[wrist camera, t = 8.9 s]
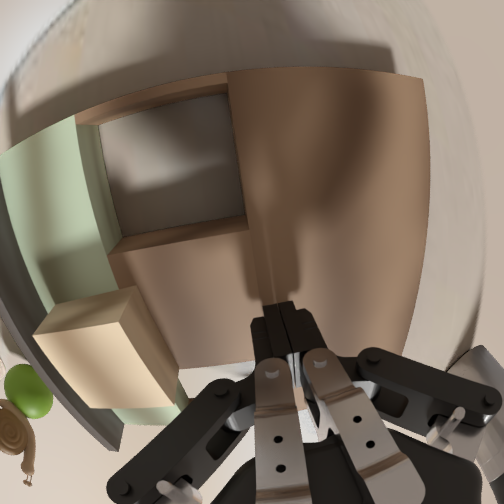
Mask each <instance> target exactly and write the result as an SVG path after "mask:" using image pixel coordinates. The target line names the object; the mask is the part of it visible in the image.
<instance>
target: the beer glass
mask: <svg viewBox="0 0 504 504" xmlns="http://www.w3.org/2000/svg"><path fill="white" fill-rule="evenodd" d="M5 374H6V369H5V366H4V364H3V362H2V361H1V359H0V381H1V379H2V378H3V377H4V376H5Z"/></svg>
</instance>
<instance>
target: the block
mask: <svg viewBox="0 0 504 504" xmlns="http://www.w3.org/2000/svg"><path fill="white" fill-rule="evenodd" d="M32 336H33V337H34V339H35V340H36V342H37V343H38V345H39V346H40V348H41V349H42V351H43V352H44V353H45V355H46V356H47V357H48V359H49V360H50V361H51V363H52V364H53V365H54V367H55V368H56V369H57V370H58V372H59V373H60V374H61V375H62V377H63V378H64V379H65V380H66V382H67V383H68V384H69V385H70V386H71V387H72V389H73V390H74V391H75V392H76V393H77V394H78V395H79V396H80V398H81V399H82V400H83V401H84V402H85V403H86V404H87V405H88V406H89V407H90V408H107V409H125V408H153V407H167V406H175V397H176V388H177V380H178V372H179V366H178V364H177V363H176V361H175V359H174V357H173V356H172V354H171V352H170V350H169V349H168V347H167V345H166V343H165V341H164V339H163V338H162V336H161V334H160V332H159V330H158V328H157V326H156V324H155V322H154V321H153V319H152V317H151V315H150V313H149V311H148V309H147V307H146V305H145V302H144V300H143V298H142V296H141V294H140V292H139V290H138V288H137V285H136V286H131V287H127V288H123V289H119V290H115V291H111V292H106V293H102V294H98V295H94V296H90V297H85V298H81V299H77V300H73V301H68V302H64V303H60V304H56V305H55V306H54V307H53V308H52V310H51V311H50V312H49V313H48V315H47V316H46V317H45V319H44V320H43V321H42V323H41V324H40V325H39V327H38V328H37V330H36V331H35V332H34V334H33V335H32Z"/></svg>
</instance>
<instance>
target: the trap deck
mask: <svg viewBox="0 0 504 504" xmlns="http://www.w3.org/2000/svg"><path fill="white" fill-rule="evenodd" d="M223 93H227V97H228V104H229V110H230V117H231V124H232V130H233V137H234V144H235V150H236V157H237V164H238V171H239V177H240V184H241V191H242V197H243V204H244V211H245V215H241V216H235V217H229V218H223V219H217V220H211V221H206V222H200V223H194V224H189V225H184V226H178V227H173V228H168V229H162V230H157V231H152V232H147V233H142V234H137V235H133V236H128V237H122V233H121V230H120V227H119V223H118V219H117V216H116V212H115V208H114V204H113V200H112V196H111V192H110V187H109V183H108V179H107V174H106V169H105V164H104V159H103V154H102V148H101V142H100V136H99V130H98V125H100V124H103V123H106V122H109V121H112V120H115V119H118V118H121V117H124V116H127V115H130V114H133V113H137V112H140V111H144V110H147V109H151V108H155V107H159V106H163V105H167V104H171V103H175V102H180V101H184V100H189V99H194V98H199V97H205V96H210V95H216V94H223ZM429 200H430V141H429V126H428V114H427V105H426V97H425V90H424V83H423V79H421V78H416V77H411V76H406V75H400V74H394V73H388V72H381V71H373V70H364V69H353V68H339V67H274V68H259V69H248V70H239V71H231V72H223V73H217V74H210V75H204V76H199V77H194V78H189V79H184V80H179V81H175V82H171V83H166V84H162V85H158V86H155V87H151V88H147V89H144V90H140V91H137V92H134V93H131V94H127V95H124V96H121V97H118V98H115V99H113V100H110V101H107V102H104V103H102V104H99V105H96V106H94V107H91V108H89V109H86V110H84V111H82V112H79V113H77V114H75V115H72V116H70V117H68V118H66V119H64V120H61V121H59V122H57V123H55V124H53V125H51V126H49V127H47V128H45V129H43V130H41V131H40V132H38V133H36V134H34V135H32V136H30V137H29V138H27V139H25V140H23V141H22V142H20V143H18V144H17V145H15V146H13V147H12V148H10V149H9V150H7V151H6V152H4V153H2V154H1V155H0V316H1V318H2V320H3V321H4V323H5V325H6V327H7V329H8V330H9V332H10V334H11V335H12V337H13V339H14V340H15V342H16V344H17V345H18V347H19V348H20V350H21V351H22V353H23V354H24V356H25V357H26V359H27V360H28V362H29V363H30V365H31V366H32V367H33V369H34V370H35V371H36V373H37V374H38V376H39V377H40V378H41V379H42V381H43V382H44V383H45V385H46V386H47V387H48V388H49V390H50V391H51V392H52V393H53V394H54V396H55V397H56V398H57V399H58V400H59V401H60V403H61V404H62V405H63V406H64V407H65V408H66V409H67V410H68V412H69V413H70V414H71V415H72V416H73V417H74V418H75V419H76V420H77V421H78V422H79V423H80V424H81V425H82V426H83V427H84V428H85V429H86V430H87V431H88V432H89V433H90V434H91V435H92V436H93V437H94V438H95V439H97V440H98V441H99V442H100V443H101V444H102V445H103V446H104V447H106V448H107V449H108V450H109V451H117V452H119V448H120V443H121V438H122V433H123V428H124V424H132V425H168V424H169V423H171V422H172V421H173V420H174V419H175V418H176V417H177V416H178V415H179V414H180V413H181V412H182V411H183V410H184V409H185V408H186V407H187V406H188V405H189V404H190V403H191V402H192V401H193V399H194V398H188V396H187V395H186V392H185V390H184V388H183V387H182V385H181V383H180V381H179V379H178V380H177V388H176V397H175V406H167V407H153V408H125V409H107V408H90V407H89V406H88V405H87V404H86V403H85V402H84V401H83V400H82V399H81V398H80V396H79V395H78V394H77V393H76V392H75V391H74V390H73V389H72V387H71V386H70V385H69V384H68V383H67V382H66V380H65V379H64V378H63V377H62V375H61V374H60V373H59V372H58V370H57V369H56V368H55V367H54V365H53V364H52V363H51V361H50V360H49V359H48V357H47V356H46V355H45V353H44V352H43V351H42V349H41V348H40V346H39V345H38V343H37V342H36V340H35V339H34V337H33V336H32V335H33V334H34V332H35V331H36V330H37V328H38V327H39V325H40V324H41V323H42V321H43V320H44V319H45V317H46V316H47V315H48V313H49V312H50V311H51V310H52V308H53V307H54V306H55V305H56V304H60V303H64V302H68V301H73V300H77V299H81V298H85V297H90V296H94V295H98V294H102V293H106V292H111V291H115V290H119V289H123V288H127V287H131V286H136V285H137V288H138V290H139V292H140V294H141V296H142V298H143V300H144V302H145V305H146V307H147V309H148V311H149V313H150V315H151V317H152V319H153V321H154V322H155V324H156V326H157V328H158V330H159V332H160V334H161V336H162V338H163V339H164V341H165V343H166V345H167V347H168V349H169V350H170V352H171V354H172V356H173V357H174V359H175V361H176V363H177V364H178V366H179V369H188V368H199V367H208V366H217V365H225V364H232V363H239V362H246V361H252V360H255V356H254V349H253V343H252V336H251V329H250V324H251V322H252V320H253V318H256V317H262V316H264V315H263V309H262V306H265V305H270V304H276V303H277V305H278V303H281V302H286V301H291V300H293V302H294V305H295V307H296V310H298V309H302V308H305V309H307V310H308V311H309V312H311V313H312V315H313V317H314V319H315V322H316V323H317V326H318V328H319V330H320V332H321V334H322V336H323V339H324V341H325V343H326V345H327V347H328V349H329V350H331V351H333V352H334V353H335V355H337V356H341V357H357V356H358V354H359V353H360V352H361V351H362V350H364V349H366V348H369V347H378V348H381V349H384V350H387V351H389V352H392V353H394V354H397V355H400V356H402V352H403V349H404V346H405V342H406V339H407V335H408V332H409V328H410V324H411V320H412V316H413V312H414V308H415V303H416V299H417V294H418V289H419V284H420V278H421V273H422V267H423V260H424V253H425V246H426V237H427V228H428V216H429ZM294 383H295V381H294ZM293 391H294V397H295V403H296V406H297V410H298V411H300V410H304V409H307V407H306V404H305V402H304V392H303V389H302V387H298V388H296V385H295V388H294V389H293Z"/></svg>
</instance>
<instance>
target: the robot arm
mask: <svg viewBox="0 0 504 504" xmlns="http://www.w3.org/2000/svg"><path fill="white" fill-rule="evenodd" d="M262 309H263V315H264V316H262V317H256V318H253V320H252V322H251V324H250V329H251V336H252V343H253V349H254V356H255V364H256V365H255V369H254V371H253V372H252V373H251V374H250V375H249V376H248V377H247V378H245V379H243V380H240V381H238V382H234V381H233V380H230V379H225V378H224V379H217V380H214V381H212V382H211V383H209V384H208V385H207V386H206V387H205V388H204V389H203V390H202V391H201V392H200V393H199V395H197V397H195V398H194V399H193V401H192V402H191V403H190V404H189V405H188V406H187V407H186V408H185V409H184V410H183V411H182V412H181V413H180V414H179V415H178V416H177V417H176V418H175V419H174V420H173V421H172V422H171V423H169V424H168V425H167V427H165V428H164V429H163V430H162V431H161V432H160V433H159V434H158V435H157V436H156V437H155V438H154V439H153V440H152V441H151V442H150V443H149V444H148V445H146V446H145V447H144V448H143V449H142V450H141V451H140V452H139V453H138V454H137V455H136V456H134V457H133V458H132V459H131V460H130V461H129V462H128V463H127V464H126V465H124V466H123V467H122V468H121V469H120V470H119V471H118V472H116V473H115V474H114V475H113V476H112V477H111V478H110V479H109V481H108V482H107V486H106V489H107V494H108V496H109V498H110V499H111V500H112V501H113V502H114V503H116V504H202V496H201V494H200V492H199V491H198V489H199V488H200V487H201V486H202V485H203V484H204V483H205V482H206V481H207V480H208V478H209V477H210V476H211V475H212V474H213V473H214V472H215V471H216V469H217V468H218V467H219V466H220V465H221V464H222V463H223V461H224V460H225V459H226V458H227V457H228V455H229V454H230V453H231V452H232V451H233V449H234V448H235V447H236V446H237V444H238V443H239V442H240V441H241V440H242V438H243V437H244V436H245V434H246V433H247V432H248V430H249V428H250V427H251V426H253V425H254V429H255V457H254V458H252V459H251V460H249V461H247V462H246V463H245V464H243V465H242V466H241V467H240V468H239V469H238V470H237V471H236V472H235V474H234V475H233V476H232V478H231V479H230V480H229V482H228V483H227V484H226V485H225V487H224V488H223V489H222V490H221V492H220V493H219V494H218V495H217V496H216V498H215V499H214V500H213V501H212V502H211V504H481V492H482V476H481V472H480V470H479V469H478V467H477V466H476V465H475V464H474V460H475V458H476V460H477V461H478V463H479V465H480V467H481V469H482V471H483V472H484V474H485V476H486V478H487V480H488V482H489V484H490V486H491V488H492V490H493V492H494V495H495V498H496V500H497V503H498V504H504V369H503V368H502V366H501V365H500V364H499V363H498V362H497V360H496V359H495V358H494V357H493V356H492V355H491V354H490V353H489V351H487V349H486V348H485V347H484V346H483V345H479V346H476V347H474V348H473V349H471V350H470V351H468V352H467V353H466V354H464V355H463V356H462V357H461V358H460V359H459V360H458V361H457V362H456V363H455V364H454V365H453V366H452V367H451V368H450V369H449V370H448V372H444V371H442V370H439V369H436V368H433V367H430V366H427V365H424V364H422V363H419V362H416V361H413V360H411V359H408V358H405V357H402V356H400V355H397V354H394V353H392V352H389V351H387V350H384V349H381V348H378V347H369V348H366V349H364V350H362V351H361V352H360V353H359V354H358V356H357V357H341V356H337V355H335V353H334V352H333V351H331V350H329V349H328V347H327V345H326V343H325V341H324V339H323V336H322V334H321V332H320V330H319V328H318V326H317V323H316V322H315V319H314V317H313V315H312V313H311V312H309V311H308V310H307V309H305V308H302V309H298V310H296V307H295V305H294V302H293V300H291V301H286V302H281V303H278V305H277V303H276V304H270V305H265V306H262ZM294 381H295V383H294ZM295 385H296V388H298V387H302V389H303V392H304V402H305V404H306V407H307V409H308V412H309V414H310V417H311V419H312V422H313V424H314V427H315V429H316V432H317V435H318V441H319V442H316V443H303V442H302V435H301V429H300V423H299V416H298V410H297V406H296V403H295V397H294V391H293V389H294V388H295ZM382 419H383V420H386V421H388V422H391V423H393V424H395V425H397V426H400V427H402V428H404V429H407V430H409V431H412V432H414V433H417V434H420V435H422V436H424V437H426V440H427V443H428V444H426V443H423V442H421V441H419V440H416V439H414V438H412V437H409V436H407V435H405V434H403V433H400V432H398V431H396V430H393V429H390V428H386V426H385V424H384V422H383V421H382Z"/></svg>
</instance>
